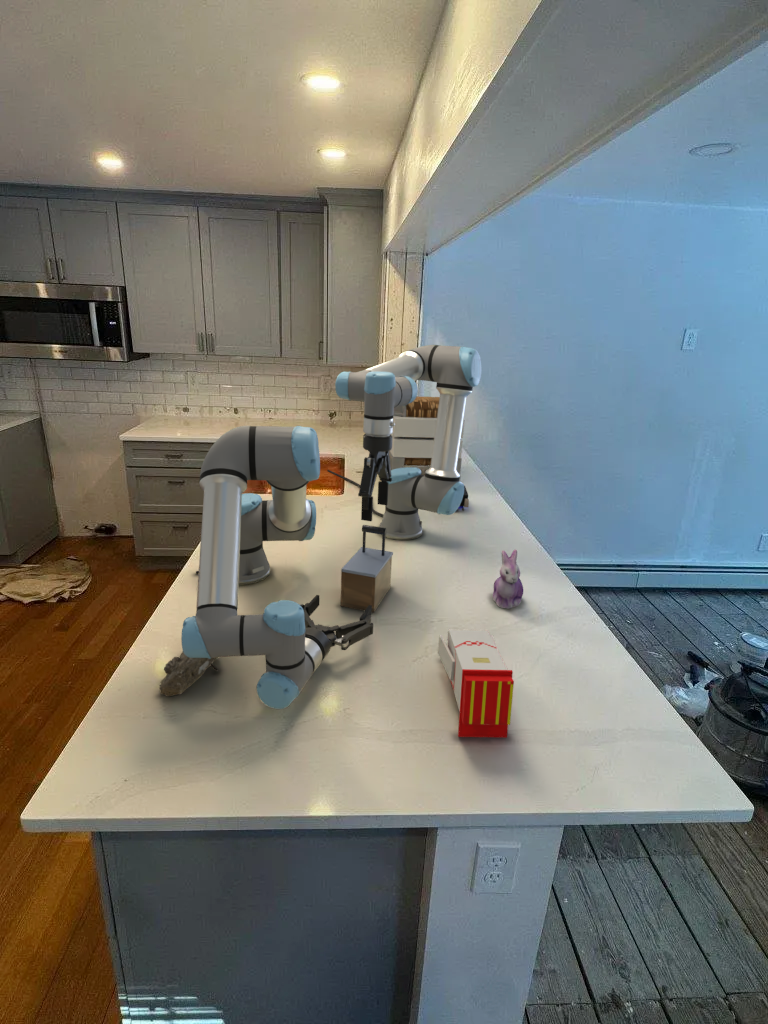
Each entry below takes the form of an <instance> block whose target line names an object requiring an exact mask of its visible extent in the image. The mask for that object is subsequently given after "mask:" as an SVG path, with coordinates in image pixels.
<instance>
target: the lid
mask: <svg viewBox="0 0 768 1024" xmlns="http://www.w3.org/2000/svg"><path fill="white" fill-rule="evenodd" d="M361 532H362V545H361V546H360V548H358V550H357V551H356V552H355V553H354V554H353V555H352V556H351V558H350V559H349V560H348V561H347V562H346V563H345V564H344V565H343V566H342V567H341V570H340V571H341V572H347V573H352V574H358V575H363V576H369V577H374V578H375V577H376V576H377V575H378V573H379V572H380V571H381V569H382V568H383V567H384V565H385V564H386V563H387V562H388V560H389V559H390V558H391V556H392V557H393V555H394V552H393V551H389V550H386V537H385V536H386V533H387V528H382V527H379V526H374V525H369V524H362V526H361ZM367 533H368V534H375V535H379V536H380V535H381V536H382V537H381V549H377V548H371V547H366V546H367V545H366V543H367V542H366V541H367ZM341 572H340V573H341Z"/></svg>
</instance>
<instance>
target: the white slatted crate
mask: <svg viewBox="0 0 768 1024" xmlns="http://www.w3.org/2000/svg"><path fill="white" fill-rule="evenodd" d="M439 398H440V396H418V395H417V397H416V398H415V400H414V401H413V402H411V403H409V404H407V405H405V406H399V407H395V408H394V414H393V423H395V426H393V433H392V434H390V435H392V449H391V450H390V451H389V459H390V468H391V470H393V469H397V468H405V466H406V467H409V466H411V467H417V466H418V467H430V466H431V459H432V451H433V444H434V436H435V429H436V421H437V413H438V406H439ZM464 429H465V419H463V426H462V433H461V440H460V447H459V454H458V461H457V468H456V471H457V472H458V474H459V475H460V476H461V472H462V461H463V460H462V453H463V442H464V441H463V440H462V439H463V438H464V431H465V430H464ZM459 481H460V482H461V478H460V479H459Z"/></svg>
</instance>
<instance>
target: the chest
mask: <svg viewBox="0 0 768 1024" xmlns="http://www.w3.org/2000/svg"><path fill="white" fill-rule="evenodd" d="M392 562H393V555H392V556H391V558H390V559H389V560H388V562H387V563H386V564H385V565H384V567H383V568H382V569H381V571H380V572H379V573H378V575H377V576H376V577H375V578H374V577H369V576H363V575H358V574H352V573H347V572H340V575H341V576H340V607H342V608H343V607H344V608H348V609H354V610H359V611H363V612H364V611H365V610H366V608H367V607H368V606H369V605H372V613H375V612H376V610H377V609H378V607H379V606H380V604H381V603H382V601H383V599H385V597H386V595H387V594H388V593H389V591H390V589H391V584H392V583H391V582H392V581H391V580H392Z"/></svg>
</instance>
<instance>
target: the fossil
mask: <svg viewBox="0 0 768 1024" xmlns="http://www.w3.org/2000/svg"><path fill="white" fill-rule="evenodd" d="M216 659H219V657H216V658H210V659H209V658H189V657H187V656H186V655H185V654H184V652H183V650H182V652H181V653H180V655H179V656H173V657H172V659H171V660H169V661H168V662H167V663H166V664H165V665H164V667H163V671H164V672H165V674H166V676H165V677H164V678H163V679H161V681H160V684H159V691H160V695H165V696H166V697H172V696H176V695H181V694H183V693H184V692H185V691H186V690H188V688H190V687H192V685H193V684H194V683H195V682H197V680H199V679H200V678H201V677H202V676H204V673H205V672H206V670H207V669H208V668H210V667H211V668H212V669H213V670H214V671H216V672H218V671H219V669H218V668H217V667H216V665H214V663H213V662H214V661H215V660H216Z"/></svg>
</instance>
